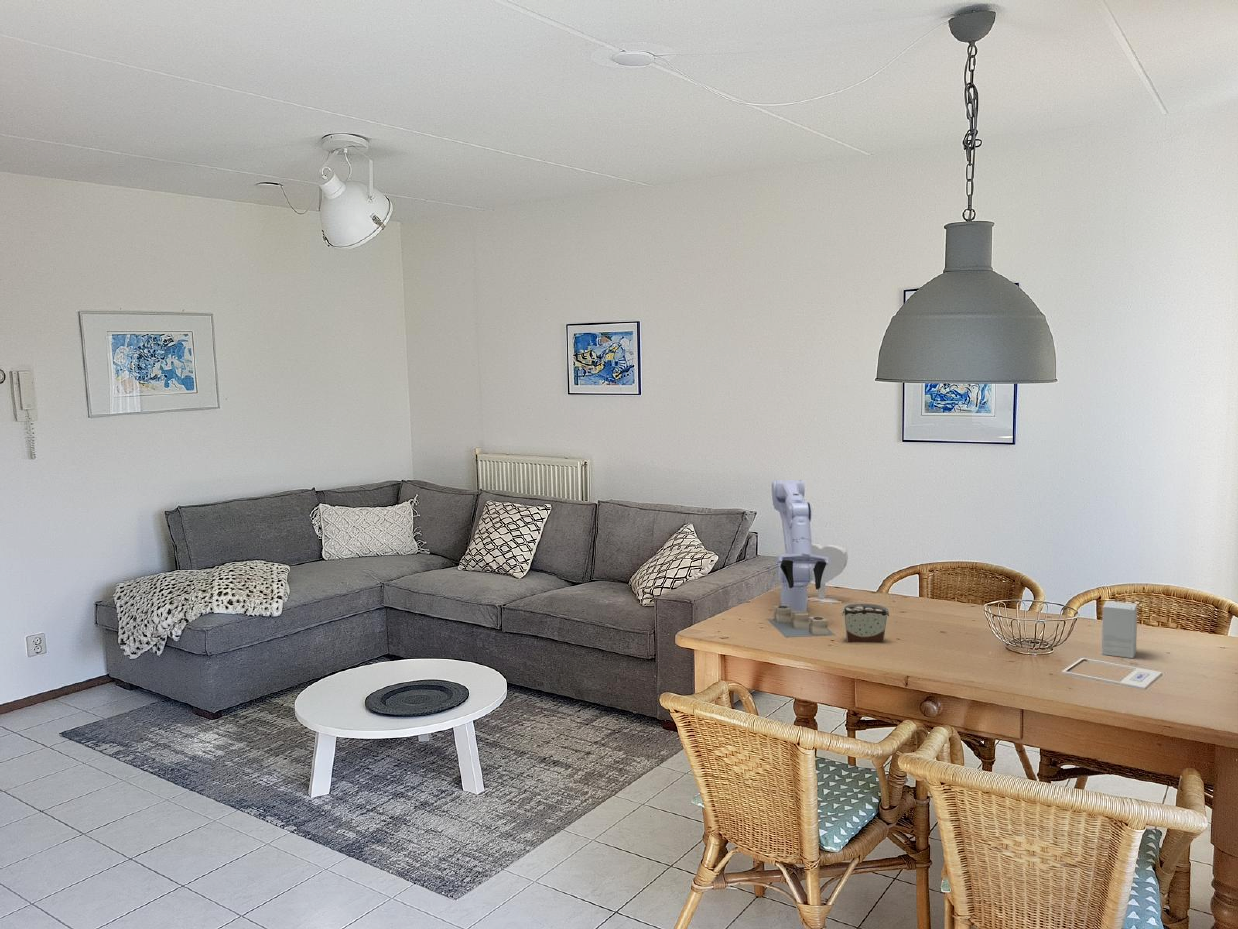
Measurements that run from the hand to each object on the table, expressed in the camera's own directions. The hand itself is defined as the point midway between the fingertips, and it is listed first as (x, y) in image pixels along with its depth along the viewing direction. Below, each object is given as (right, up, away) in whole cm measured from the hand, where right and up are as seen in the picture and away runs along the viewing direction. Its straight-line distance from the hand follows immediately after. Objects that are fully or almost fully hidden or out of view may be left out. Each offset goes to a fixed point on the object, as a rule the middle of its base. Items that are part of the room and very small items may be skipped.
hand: (804, 587), depth 267 cm
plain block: (-1, -11, +2) cm, 12 cm away
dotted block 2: (+3, -12, -4) cm, 13 cm away
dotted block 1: (-5, -11, +9) cm, 15 cm away
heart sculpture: (+12, -9, +36) cm, 39 cm away
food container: (+14, -13, -11) cm, 22 cm away
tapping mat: (-1, -12, +2) cm, 12 cm away
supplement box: (+76, -14, -24) cm, 81 cm away
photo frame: (+65, -16, -40) cm, 78 cm away
